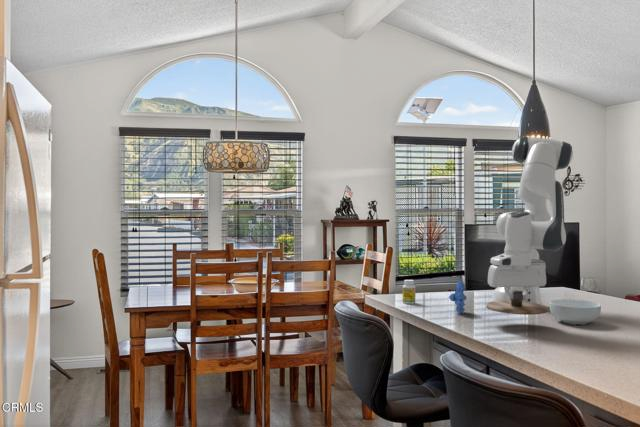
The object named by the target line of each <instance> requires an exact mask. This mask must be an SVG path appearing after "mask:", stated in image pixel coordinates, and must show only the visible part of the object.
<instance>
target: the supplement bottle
mask: <svg viewBox="0 0 640 427" xmlns="http://www.w3.org/2000/svg"><path fill="white" fill-rule="evenodd" d="M414 282H415V280H414V279H404V281H403V285H402V303H403V304H409V305H411V304H415V303H416V285H414Z"/></svg>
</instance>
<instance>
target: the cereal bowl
mask: <svg viewBox="0 0 640 427" xmlns="http://www.w3.org/2000/svg"><path fill="white" fill-rule="evenodd" d="M548 305H549V311H550V313H551V315H552V316H553V317H554V318H556V319H558V320H560V321H562V322H563V323H564V324H568V325H576V324H581V325H582V326H583V325H586V324H588V323H590V322H594V321H595V320H597V319H598V318H599V316H600V315H601V311H602V309H601V308H602V304H601V303H598V302H595V301H591V300H583V299H572V298H571V299H570V298H569V299H568V298H565V299H553V300H550V301H549V304H548ZM581 325H580V326H581Z"/></svg>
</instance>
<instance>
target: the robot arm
mask: <svg viewBox="0 0 640 427" xmlns="http://www.w3.org/2000/svg"><path fill="white" fill-rule="evenodd" d="M511 155H512V158H513V160H514V161H515V162H517V163H519V164H524V165H523V169H522V173H521V177H520V182H519V186H518V192H517V196H518V198H519V200H521V202H523V203H524V211H520V210H519V211H509V212H504V213H501V214H500V215H498V217H497V219H496V223H495V225H496V226H495V227H496V230H497V232H498V234H499V235H500V236H501V237H502V238H504V241H505V246H504V249H503V252H504V253H501V254H498V255H496V256H492V257H491V258H490V261H489V262H490V264H491V265H490V266H489V268H488V272H487V273H488V274H487V284H488V285H489V286H490V287H492V288H495V289H494V290H493V292H492V295H491V300H489V301H486V303H485V305H486V304H487V303H488V302H493V301H511V300H513V295H511V291H513V290H517V291H523V296H522V302H531V303H537V304H541V305H543V302H542V296H541V291H540V290H541V289H540V287H545V286H546V284H547V275H546V274H547V273H546V268H547V266H546V262H545V261H544V260H542V259H540V254H539V251H538V250H544V251H549V252H557V251H559V250H560V249H561V248H563V247H564V246H565V245H566V241H567V234H566V225H565V205H564V204H565V203H564V200H565V199H564V192H563V187H562V184H561V182H560V181H557V180H556V171H559V170H563V169H566V168H568V166H569V165H570V163H571V162H572V160H573V158H574V157H573V156H574V151H573V146H572V145H571V144H570V143H569V142H567V141H559V140H557V139H556V140H555V139H551V138H542V137H528V136H519V137H518V138H516V141H514V143H513V145H512V148H511ZM547 200H548V201H549V202H550V203H549V205H550V212H549V210H548V208H547Z"/></svg>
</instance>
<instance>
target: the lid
mask: <svg viewBox="0 0 640 427" xmlns="http://www.w3.org/2000/svg"><path fill="white" fill-rule="evenodd" d="M511 295H513V300H511V301H493V302H488V303H487V302H486V303H487V304H486V303H485V305H486V307H485V308H486V309H488V310H490V311H493V312H496V313H497V312H498V313H502V314H503V313H504V314H510V315H511V314H512V315H527V316H528V315H529V316H530V315H541V314H547V313H548V312H549V307H548V306H546V305H543V304H542V305H541V304H537V303H531V302H522V296H523V291H517V290H513V291H511Z"/></svg>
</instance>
